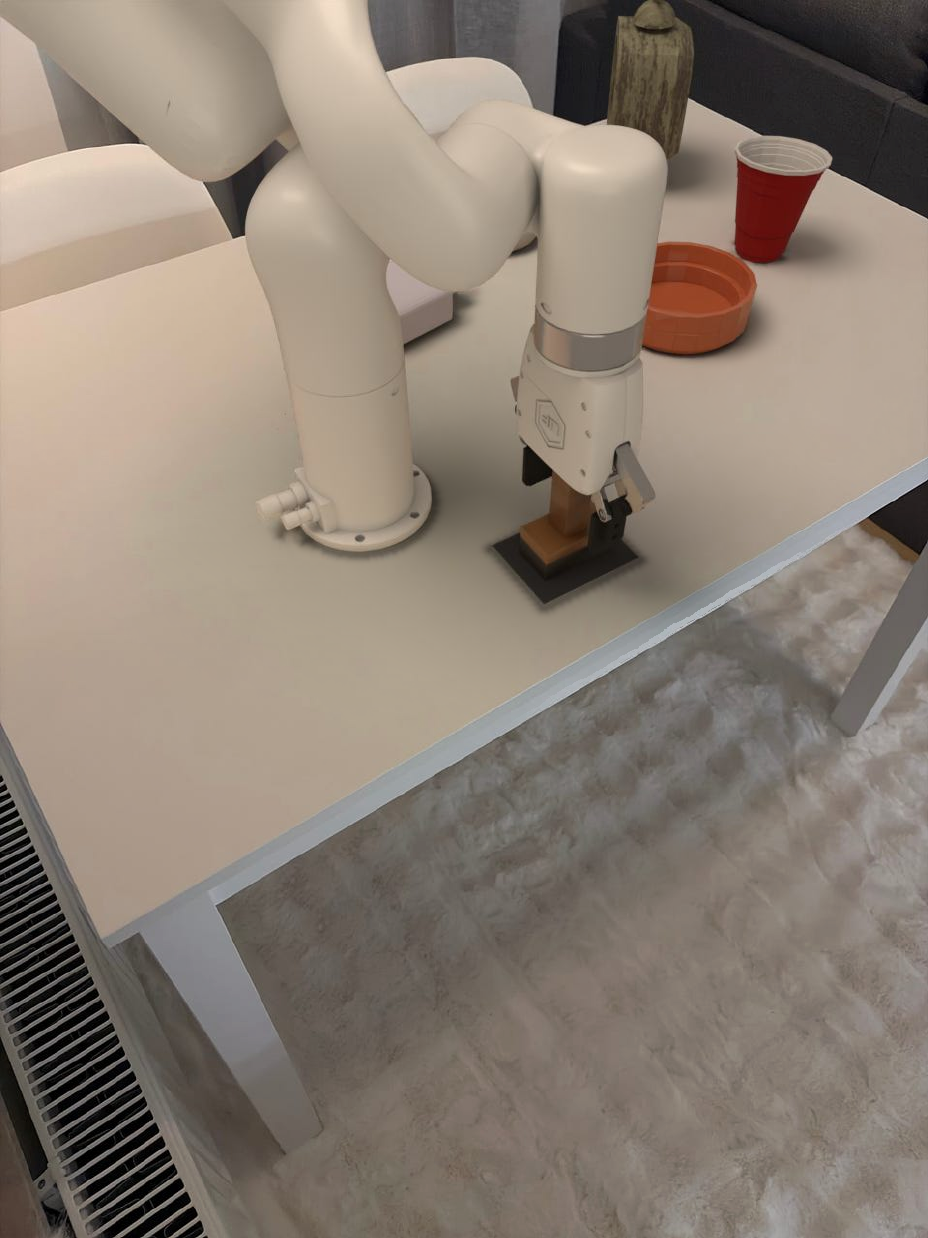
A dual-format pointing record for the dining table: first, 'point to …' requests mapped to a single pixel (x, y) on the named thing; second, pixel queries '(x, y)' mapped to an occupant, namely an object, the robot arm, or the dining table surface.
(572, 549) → the brush
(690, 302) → the bowl
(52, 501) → the dining table surface
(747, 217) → the plastic cup
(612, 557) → the mat
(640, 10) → the tabletop clock
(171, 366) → the dining table surface
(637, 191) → the robot arm
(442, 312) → the charger
